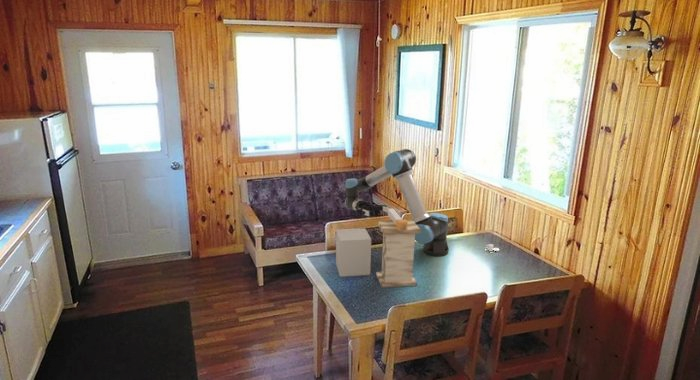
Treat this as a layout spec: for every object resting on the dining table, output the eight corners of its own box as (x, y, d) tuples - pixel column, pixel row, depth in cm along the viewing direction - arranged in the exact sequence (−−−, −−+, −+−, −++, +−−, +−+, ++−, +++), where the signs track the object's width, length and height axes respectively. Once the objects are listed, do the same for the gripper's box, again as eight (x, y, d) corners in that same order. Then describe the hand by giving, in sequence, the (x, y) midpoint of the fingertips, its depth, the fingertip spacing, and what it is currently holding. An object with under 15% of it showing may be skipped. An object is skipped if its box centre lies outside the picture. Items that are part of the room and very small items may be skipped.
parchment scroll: (375, 274, 236) (377, 221, 228) (409, 272, 239) (412, 219, 231) (382, 287, 223) (384, 230, 215) (417, 285, 226) (420, 229, 217)
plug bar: (386, 214, 238) (386, 206, 237) (394, 213, 239) (394, 206, 238) (398, 230, 216) (398, 222, 215) (407, 229, 216) (407, 222, 215)
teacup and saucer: (500, 250, 271) (500, 244, 270) (496, 255, 264) (497, 248, 263) (485, 247, 275) (486, 241, 274) (481, 251, 269) (482, 245, 268)
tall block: (364, 261, 251) (365, 228, 246) (370, 274, 236) (371, 239, 231) (335, 263, 249) (336, 229, 243) (339, 276, 233) (340, 240, 228)
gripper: (378, 209, 279) (397, 215, 260) (342, 215, 268) (359, 221, 249) (378, 197, 278) (397, 202, 259) (342, 202, 267) (359, 208, 248)
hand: (379, 212), depth 254 cm, fingers open, 13 cm apart
